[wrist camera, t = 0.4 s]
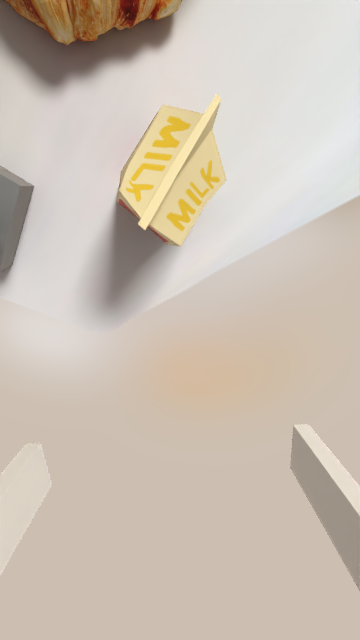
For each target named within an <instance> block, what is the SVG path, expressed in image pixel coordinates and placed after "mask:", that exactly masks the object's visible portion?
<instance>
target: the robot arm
mask: <svg viewBox="0 0 360 640" xmlns="http://www.w3.org/2000/svg"><path fill="white" fill-rule="evenodd" d="M291 469H292V471H293V473H294V475H295V476H296V478H297V480H298V482H299V484H300V485H301V487H302V489H303V491H304V492H305V494H306V496H307V498H308V500H309V502H310V503H311V505H312V507H313V509H314V510H315V512H316V514H317V516H318V518H319V519H320V521H321V523H322V525H323V526H324V528H325V530H326V532H327V534H328V535H329V537H330V539H331V540H332V542H333V544H334V546H335V548H336V549H337V551H338V553H339V555H340V557H341V558H342V560H343V562H344V564H345V565H346V567H347V569H348V571H349V572H350V574H351V576H352V578H353V580H354V582H355V583H356V585H357V587H358V589H359V590H360V486H359V485H358V484H357V482H356V481H355V480H354V479H353V478H352V476H351V475H350V474H349V473H348V471H347V470H346V469H345V468H344V467H343V466H342V464H341V463H340V462H339V461H338V460H337V458H336V457H335V456H334V455H333V453H332V452H331V451H330V450H329V449H328V448H327V446H326V445H325V444H324V443H323V441H322V440H321V439H320V438H319V437H318V435H317V434H316V433H315V432H314V430H313V429H312V428H311V427H310V426H309V424H302V425H293V439H292V452H291ZM51 485H52V482H51V479H50V475H49V471H48V468H47V464H46V461H45V457H44V453H43V450H42V446H41V443H32V444H25V446H24V447H23V448H22V449H21V450H20V452H19V453H18V454H17V455H16V456H15V458H14V459H13V460H12V461H11V462H10V463H9V465H8V466H7V467H6V468H5V469H4V471H3V472H2V473H1V474H0V575H1V574H2V572H3V570H4V568H5V567H6V565H7V563H8V561H9V559H10V557H11V556H12V554H13V552H14V551H15V549H16V547H17V545H18V543H19V542H20V540H21V538H22V537H23V535H24V533H25V531H26V529H27V528H28V526H29V524H30V522H31V521H32V519H33V517H34V515H35V514H36V512H37V510H38V508H39V507H40V505H41V503H42V501H43V500H44V498H45V496H46V494H47V492H48V491H49V489H50V487H51Z"/></svg>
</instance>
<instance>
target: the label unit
mask: <svg viewBox="0 0 360 640" xmlns="http://www.w3.org/2000/svg"><path fill="white" fill-rule="evenodd" d="M33 187H34V186H33V185H31V184H30V183H28V182H26V181H25V180H23V179H21V178H20V177H18V176H16V175H15V174H13V173H11V172H10V171H8V170H6V169H5V168H3V167H2V166H0V271H2V270H4V269H6V268H8V267H10V266H12V264H13V260H14V256H15V253H16V249H17V245H18V242H19V238H20V235H21V231H22V227H23V224H24V220H25V216H26V213H27V209H28V206H29V202H30V198H31V195H32V191H33Z"/></svg>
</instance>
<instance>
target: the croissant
mask: <svg viewBox="0 0 360 640" xmlns="http://www.w3.org/2000/svg"><path fill="white" fill-rule="evenodd" d="M4 1H6V2H7V3H9V4H10V5H11V6H12V7H13V8H14V10H15V11H16V12H17V13H19V14H20V15H21V16H23V17H25V18H26V19H28V20H29V21H32V22H33V23H35V24H36V25H37V26H40V27H42V28H44V29H45V30H46V31H47V32H48V33H49V34H50V36H51V37H52V38H53V39H55V40H56V41H58V42H60V43H64V44H66V45H69V44H70V43H71V42H74V41H75V40H76V39H78V40H80V41H83V42H86V41H95V40H97V36H98V35H100V34H104V33H106V32H107V31H109V30H110V29H112V28H113V27H116V28H117V29H118V30H122V29H124V28H132V27H133V26H135V25H136V24H137V23H139V22H140V21H143V20H144V19H146V18H148V19H150V18H151V19H153V20H158V19H161V18H164V17H167V16H169V15H171V14H173V13H174V12H176V11H177V10H178V7H179V5H180V3H181V2H182V0H4Z"/></svg>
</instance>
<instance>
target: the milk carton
mask: <svg viewBox="0 0 360 640" xmlns="http://www.w3.org/2000/svg"><path fill="white" fill-rule="evenodd" d="M220 101H221V99H220V97H219V96H218V94H216V96H215V97H214V99H213V100H212V102H211V103H210V105H209V107H208V108H207V110H206V111H205V113H204V114H202V113H198V112H193V111H189V110H185V109H180V108H176V107H172V106H167V105H163V106H162V107H161V108H160V110H159V111H158V113H157V114H156V116H155V117H154V119H153V120H152V122H151V124H150V125H149V127H148V129H147V130H146V132H145V133H144V135H143V137H142V138H141V140H140V141H139V143H138V145H137V146H136V148H135V150H134V151H133V153H132V154H131V156H130V158H129V159H128V161H127V163H126V164H125V166H124V167H123V169H122V171H121V175H120V184H119V188H118V203H119V204H120V205H121V206H123V207H124V208H125V209H127V210H128V211H129V212H131V213H132V214H133V215H135V216H136V217H137V218H139V219H140V221H139V223H138V225H139V226H141V227H142V228H143V229H144V230H146V228H147V226H148V227H149V228H150V229H151V230H152V231H153V232H154V233H155V234H157V235H158V236H159V237H160V238H161V239H162V240H163V241H164V242H165V243H166V244H169V245H176V246H181V245H182V243H183V242H184V240H185V238H186V237H187V235H188V233H189V232H190V230H191V228H192V227H193V225H194V223H195V221H196V220H197V218H198V216H199V215H200V213H201V211H202V210H203V208H204V206H205V205H206V203H207V202H208V201H209V200H210V199H211V197H212V196H213V195H214V194H215V193H216V192H217V190H218V189H219V188H220V187H221V186H222V184H223V183H224V182H225V181H226V177H225V173H224V170H223V166H222V163H221V159H220V156H219V152H218V148H217V145H216V141H215V138H214V134H213V130H212V128H213V124H214V121H215V118H216V115H217V111H218V108H219V105H220Z"/></svg>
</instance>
